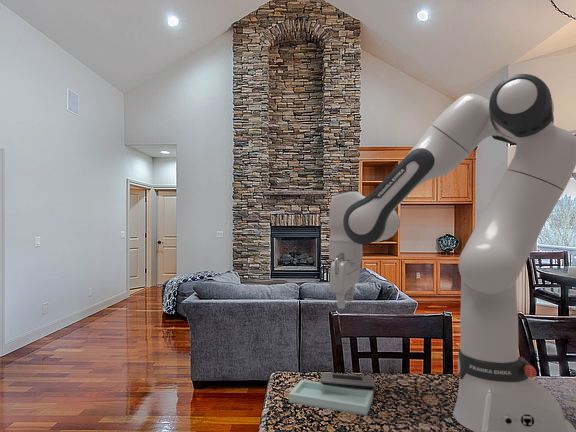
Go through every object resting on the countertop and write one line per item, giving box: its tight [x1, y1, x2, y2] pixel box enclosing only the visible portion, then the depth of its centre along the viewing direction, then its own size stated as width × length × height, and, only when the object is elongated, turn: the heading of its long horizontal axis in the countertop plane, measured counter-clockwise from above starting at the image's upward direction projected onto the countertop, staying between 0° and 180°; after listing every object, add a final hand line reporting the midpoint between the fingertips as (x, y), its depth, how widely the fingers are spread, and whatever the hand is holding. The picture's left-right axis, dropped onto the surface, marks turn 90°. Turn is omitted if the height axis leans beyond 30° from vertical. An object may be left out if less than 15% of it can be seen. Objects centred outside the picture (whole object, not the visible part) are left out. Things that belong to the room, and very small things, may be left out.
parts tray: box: [288, 379, 374, 417], centre depth 93 cm, size 18×9×2 cm, turn 69°
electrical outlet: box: [320, 372, 377, 390], centre depth 100 cm, size 13×10×2 cm
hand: (345, 304), depth 104 cm, fingers open, 8 cm apart
